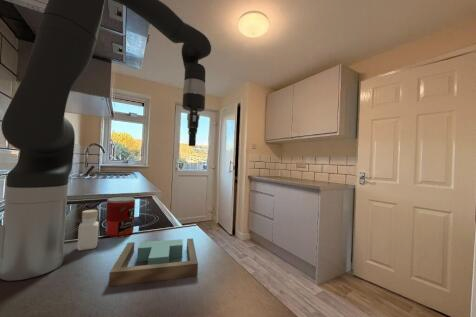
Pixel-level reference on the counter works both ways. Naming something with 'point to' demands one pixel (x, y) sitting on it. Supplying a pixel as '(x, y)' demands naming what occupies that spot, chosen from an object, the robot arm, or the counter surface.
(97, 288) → the counter surface
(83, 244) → the salt shaker
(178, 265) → the tray
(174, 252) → the teal T block
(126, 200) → the canned food
